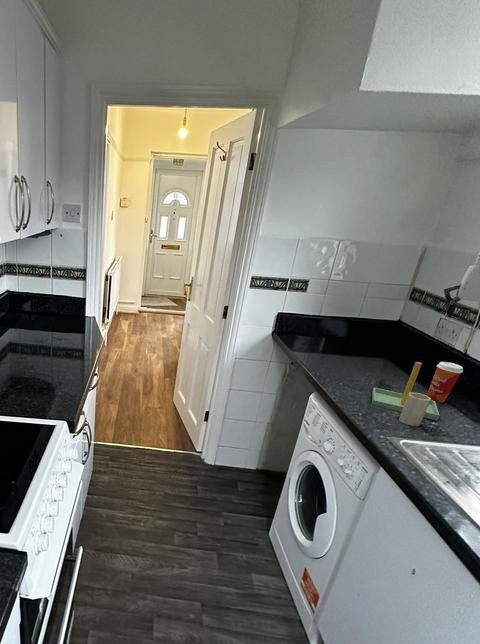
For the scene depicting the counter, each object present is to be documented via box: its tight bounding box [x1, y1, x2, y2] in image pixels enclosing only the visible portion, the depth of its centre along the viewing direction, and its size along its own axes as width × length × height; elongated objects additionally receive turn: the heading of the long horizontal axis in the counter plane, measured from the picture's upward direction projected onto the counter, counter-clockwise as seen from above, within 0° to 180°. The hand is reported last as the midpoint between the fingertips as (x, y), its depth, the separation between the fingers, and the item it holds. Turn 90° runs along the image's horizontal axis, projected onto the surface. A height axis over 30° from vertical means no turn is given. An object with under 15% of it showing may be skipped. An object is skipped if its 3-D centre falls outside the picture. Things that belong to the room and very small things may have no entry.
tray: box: [371, 387, 441, 422], centre depth 149 cm, size 19×14×2 cm
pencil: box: [400, 361, 423, 405], centre depth 146 cm, size 2×2×16 cm
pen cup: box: [398, 391, 431, 427], centre depth 135 cm, size 6×6×10 cm
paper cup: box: [426, 361, 464, 403], centre depth 153 cm, size 8×8×14 cm
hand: (468, 319), depth 129 cm, fingers open, 9 cm apart
